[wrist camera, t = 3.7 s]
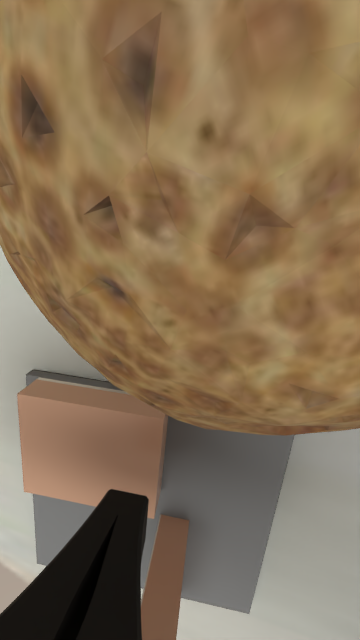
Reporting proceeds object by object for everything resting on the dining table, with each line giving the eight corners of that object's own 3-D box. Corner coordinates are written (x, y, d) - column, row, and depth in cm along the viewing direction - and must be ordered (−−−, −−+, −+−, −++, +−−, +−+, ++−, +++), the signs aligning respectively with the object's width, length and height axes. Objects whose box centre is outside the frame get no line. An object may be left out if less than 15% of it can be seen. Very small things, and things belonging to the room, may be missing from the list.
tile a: (163, 419, 11) (17, 393, 11) (154, 519, 12) (24, 491, 13) (170, 398, 12) (39, 377, 13) (160, 490, 14) (43, 466, 14)
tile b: (189, 520, 14) (167, 717, 8) (179, 590, 15) (154, 800, 10) (159, 514, 14) (117, 702, 8) (152, 584, 15) (112, 787, 10)
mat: (295, 412, 12) (298, 419, 12) (248, 602, 16) (249, 613, 15) (32, 369, 13) (25, 374, 13) (42, 554, 17) (36, 563, 16)
